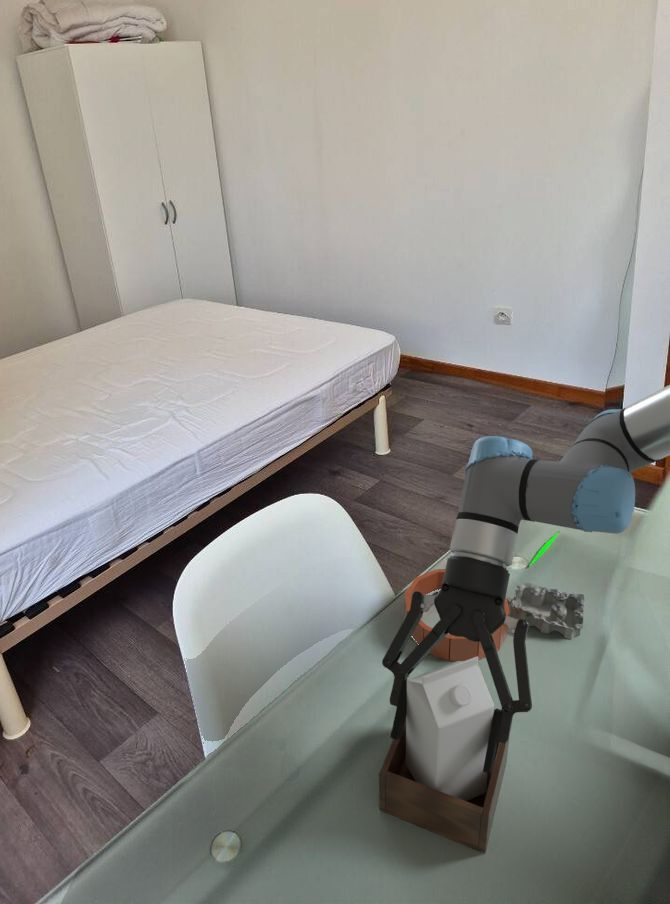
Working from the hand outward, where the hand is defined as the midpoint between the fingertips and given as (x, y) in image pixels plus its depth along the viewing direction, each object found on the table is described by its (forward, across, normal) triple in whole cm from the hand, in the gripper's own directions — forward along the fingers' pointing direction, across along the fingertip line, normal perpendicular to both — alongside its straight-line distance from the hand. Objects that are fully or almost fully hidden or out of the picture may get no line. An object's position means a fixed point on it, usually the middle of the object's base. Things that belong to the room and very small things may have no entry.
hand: (440, 753), depth 78 cm
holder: (+5, 0, -9) cm, 10 cm away
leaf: (-31, -4, -45) cm, 55 cm away
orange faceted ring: (-15, +6, -28) cm, 32 cm away
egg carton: (-19, -7, -33) cm, 39 cm away
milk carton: (+4, 0, -8) cm, 9 cm away
